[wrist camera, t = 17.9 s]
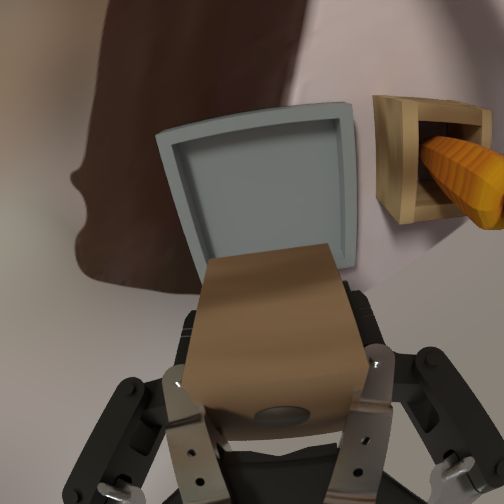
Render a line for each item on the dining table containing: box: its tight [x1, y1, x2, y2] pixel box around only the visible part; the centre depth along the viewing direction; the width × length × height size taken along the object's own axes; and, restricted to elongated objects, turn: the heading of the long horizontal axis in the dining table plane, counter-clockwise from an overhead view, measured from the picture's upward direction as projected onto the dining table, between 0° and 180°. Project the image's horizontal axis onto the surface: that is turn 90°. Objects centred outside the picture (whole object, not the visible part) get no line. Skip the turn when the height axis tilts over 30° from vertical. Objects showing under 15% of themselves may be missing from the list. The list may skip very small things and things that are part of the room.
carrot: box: [418, 136, 504, 230], centre depth 14 cm, size 5×5×15 cm
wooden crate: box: [373, 95, 492, 225], centre depth 18 cm, size 9×9×5 cm
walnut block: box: [181, 243, 369, 441], centre depth 10 cm, size 5×5×6 cm
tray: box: [155, 102, 357, 285], centre depth 22 cm, size 14×14×2 cm
